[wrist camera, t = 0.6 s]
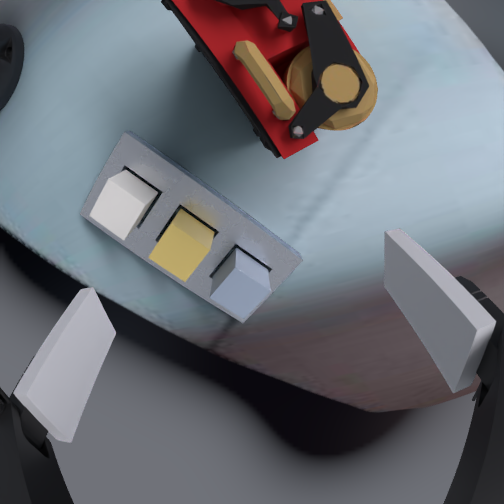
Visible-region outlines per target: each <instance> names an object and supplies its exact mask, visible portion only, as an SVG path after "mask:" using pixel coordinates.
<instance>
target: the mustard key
mask: <svg viewBox="0 0 504 504" xmlns="http://www.w3.org/2000/svg"><path fill="white" fill-rule="evenodd" d="M213 237H214V231H212V230H211V229H209V228H208V227H206V226H205V225H204V224H202V223H201V222H199V221H198V220H196V219H195V218H194V217H192V216H191V215H189V214H188V213H187V212H185V211H184V210H182V209H180V210H179V212H178V213H177V215H176V216H175V218H174V219H173V220H172V222H171V223H170V225H169V226H168V228H167V229H166V231H165V232H164V234H163V235H162V237H161V238H160V240H159V241H158V243H157V244H156V246H155V247H154V249H153V251H152V252H151V254H150V255H149V257H148V258H150V259H151V260H152V261H154V262H155V263H157V264H158V265H160V266H161V267H163V268H164V269H166V270H167V271H169V272H170V273H172V274H173V275H175V276H176V277H178V278H179V279H181V280H183V281H184V282H186V280H187V279H188V278H189V277H190V275H191V274H192V273H193V271H194V270H195V269H196V268H197V266H198V265H199V264H200V262H201V261H202V260H203V259H204V257H205V256H206V255H207V253H208V252H209V251H210V249H211V245H212V241H213Z"/></svg>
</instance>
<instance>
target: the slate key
mask: <svg viewBox="0 0 504 504" xmlns="http://www.w3.org/2000/svg"><path fill="white" fill-rule="evenodd" d="M270 292H271V288H270V281H269V274H268V269H266V268H265V267H263V266H262V265H261V264H259V263H258V262H256V261H255V260H253V259H252V258H251V257H249V256H248V255H246V254H245V253H243V252H242V251H241V250H239V249H238V248H236V249H235V250H234V251H233V252H232V254H231V255H230V256H229V257H228V258H227V260H226V261H225V262H224V263H223V265H222V266H221V267H220V268H219V269H218V271H217V272H216V273H215V274H214V275H213V280H212V286H211V291H210V297H209V298H210V299H212V300H214V301H215V302H217V303H218V304H220V305H222V306H223V307H225V308H226V309H228V310H230V311H231V312H233V313H235V314H236V315H238V316H240V317H241V318H243V319H245V318H246V317H247V316H248V315H249V313H250V312H251V311H252V310H253V309H254V308H255V307H256V306H257V305H258V304H259V303H260V302H261V301H262V300H263V299H264V298H265V297H266V296H267V295H268V294H269V293H270Z"/></svg>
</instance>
